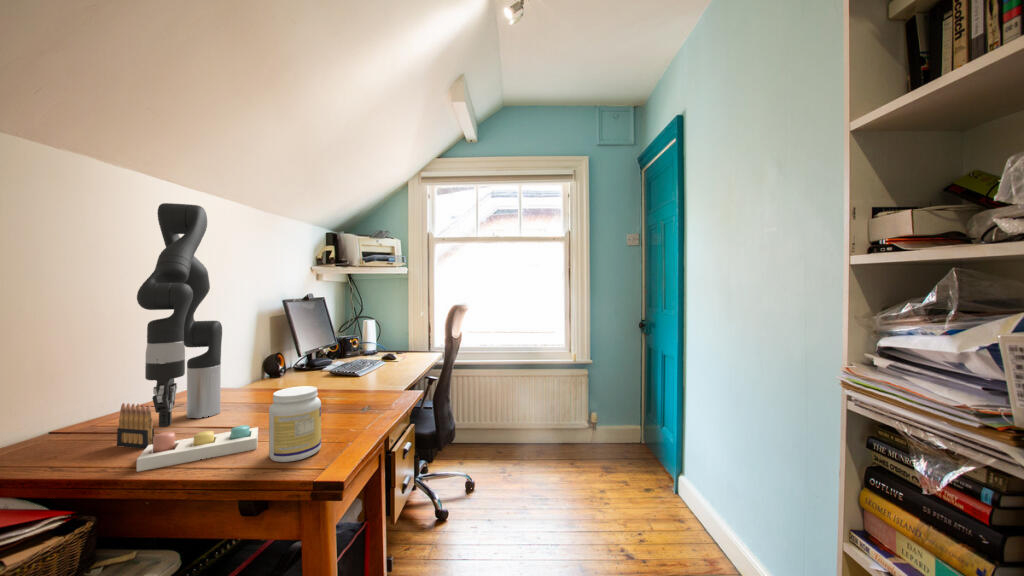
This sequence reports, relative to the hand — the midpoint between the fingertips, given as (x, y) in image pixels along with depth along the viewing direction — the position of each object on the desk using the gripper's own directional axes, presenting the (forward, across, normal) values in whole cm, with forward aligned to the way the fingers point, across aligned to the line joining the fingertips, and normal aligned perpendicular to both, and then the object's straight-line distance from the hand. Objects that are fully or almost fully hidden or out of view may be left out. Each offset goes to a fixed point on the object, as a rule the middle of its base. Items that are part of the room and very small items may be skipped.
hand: (165, 426), depth 96 cm
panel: (+9, 0, +8) cm, 12 cm away
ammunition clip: (+9, -16, -9) cm, 21 cm away
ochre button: (+8, 0, +8) cm, 11 cm away
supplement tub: (+9, +14, +29) cm, 33 cm away
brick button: (+6, 0, 0) cm, 6 cm away
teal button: (+8, 0, +16) cm, 18 cm away
